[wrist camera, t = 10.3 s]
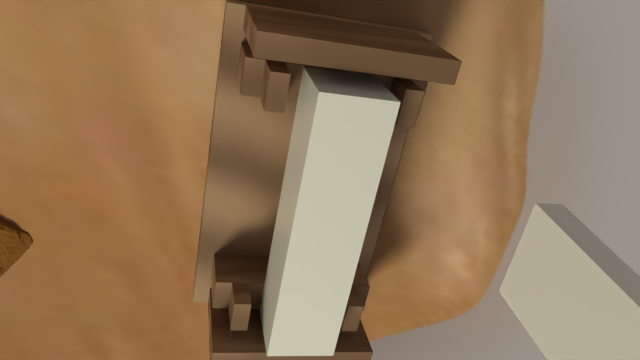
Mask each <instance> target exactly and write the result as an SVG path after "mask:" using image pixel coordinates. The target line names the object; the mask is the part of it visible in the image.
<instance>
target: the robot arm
mask: <svg viewBox="0 0 640 360" xmlns="http://www.w3.org/2000/svg"><path fill="white" fill-rule="evenodd" d="M499 292H500V293H501V295H502V296H503V298H504V299H505V300H506V302H507V303H508V305H509V306H510V307H511V309H512V310H513V312H514V313H515V315H516V316H517V317H518V319H519V320H520V322H521V323H522V324H523V326H524V327H525V329H526V330H527V331H528V333H529V334H530V336H531V337H532V339H533V340H534V341H535V343H536V344H537V346H538V347H539V348H540V350H541V351H542V353H543V354H544V355H545V357H546V358H547V360H640V276H639V275H638V274H636V273H635V272H634V271H633V270H632V269H631V268H630V267H629V266H628V265H627V264H626V263H625V262H624V261H623V260H622V259H620V258H619V257H618V256H617V255H616V254H615V253H614V252H613V251H612V250H611V249H610V248H609V247H608V246H606V245H605V244H604V243H603V242H602V241H601V240H600V239H599V238H598V237H597V236H596V235H595V234H594V233H593V232H591V231H590V230H589V229H588V228H587V227H586V226H585V225H584V224H583V223H582V222H581V221H580V220H579V219H578V218H576V217H575V216H574V215H573V214H572V213H571V212H570V211H569V210H568V209H567V208H566V207H565V206H563V205H560V204H539V203H535V206H534V208H533V211H532V213H531V216H530V218H529V221H528V223H527V225H526V228H525V230H524V233H523V235H522V237H521V240H520V242H519V245H518V247H517V250H516V252H515V254H514V257H513V260H512V262H511V264H510V267H509V269H508V271H507V274H506V276H505V278H504V281H503V283H502V286H501V288H500V291H499Z"/></svg>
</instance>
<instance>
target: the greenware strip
mask: <svg viewBox="0 0 640 360" xmlns="http://www.w3.org/2000/svg"><path fill="white" fill-rule="evenodd" d="M400 103H401V102H400V101H399V100H398V99H397V98H396V97H395V96H394V95H393V94H392V93H391V92H390V90H389V89H388V88H387V87H386V86H385V85H384V84H383V83H382V82H381V81H380V80H379V79H378V78H377V77H374V76H367V75H359V74H352V73H345V72H337V71H330V70H323V69H315V68H308V67H304V68H303V73H302V79H301V85H300V90H299V96H298V101H297V107H296V112H295V118H294V123H293V129H292V134H291V140H290V145H289V151H288V156H287V162H286V167H285V173H284V179H283V184H282V190H281V195H280V201H279V206H278V212H277V217H276V223H275V228H274V234H273V239H272V245H271V250H270V256H269V262H268V267H267V273H266V278H265V284H264V289H263V295H262V300H261V306H260V315H261V322H262V328H263V334H264V341H265V347H266V354H267V356H333V355H334V351H335V347H336V343H337V340H338V336H339V332H340V328H341V325H342V321H343V317H344V313H345V310H346V306H347V302H348V298H349V294H350V291H351V287H352V283H353V279H354V276H355V272H356V268H357V264H358V261H359V257H360V253H361V249H362V246H363V242H364V238H365V234H366V231H367V227H368V223H369V219H370V216H371V212H372V208H373V204H374V201H375V197H376V193H377V189H378V185H379V182H380V178H381V174H382V170H383V167H384V163H385V159H386V155H387V152H388V148H389V144H390V140H391V137H392V133H393V129H394V125H395V122H396V118H397V114H398V110H399V107H400Z"/></svg>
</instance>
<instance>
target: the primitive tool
mask: <svg viewBox="0 0 640 360" xmlns="http://www.w3.org/2000/svg"><path fill="white" fill-rule="evenodd" d="M32 243H33V240H32V238H31V236H30V235H29V234H27V233H25V232H24V231H23V230H20V229H19V228H16V227H15V226H13V225H11V224H9V223H8V222H5V221H4V220H2V219H0V277H1V276H2V275H3V274H4V273H5V272H6V271H7V270H8V269H9V268H10V267H11V266H12V265H13V264H14V263H15V262H16V261H17V260H18V259H19V258H20V257H21V256H22V255H23V254H24V253H25V251H26V250H28V249H29V248H30V246H31V245H32Z"/></svg>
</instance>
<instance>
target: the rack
mask: <svg viewBox="0 0 640 360" xmlns="http://www.w3.org/2000/svg"><path fill="white" fill-rule="evenodd" d="M433 36H434V35H432V34H430V33H429V32H426V31H420V30H414V29H408V28H402V27H396V26H390V25H383V24H377V23H371V22H365V21H359V20H353V19H347V18H341V17H334V16H328V15H322V14H316V13H310V12H304V11H298V10H291V9H285V8H279V7H273V6H267V5H261V4H255V3H248V2H242V1H236V0H226V4H225V13H224V22H223V31H222V40H221V49H220V58H219V67H218V76H217V85H216V94H215V102H214V111H213V120H212V129H211V138H210V147H209V156H208V165H207V174H206V183H205V192H204V201H203V210H202V219H201V228H200V237H199V245H198V254H197V263H196V272H195V281H194V290H193V302H208V314H209V343H210V360H371V357H372V353H373V351H372V348H371V346H370V343H369V341H368V338H367V335H366V333H365V330H364V328H363V325H362V322H361V320H360V318H361V314H362V311H363V309H364V306H365V302H366V299H367V295H368V291H369V288H370V286H369V284H368V281H367V279H366V278H367V274H368V271H369V267H370V264H371V260H372V256H373V253H374V249H375V246H376V242H377V238H378V235H379V231H380V228H381V224H382V220H383V217H384V213H385V209H386V206H387V202H388V199H389V195H390V191H391V188H392V184H393V181H394V177H395V173H396V170H397V166H398V163H399V159H400V155H401V152H402V148H403V145H404V141H405V137H406V134H407V130H408V127H412V128H414V127H415V123H416V119H417V116H418V115H419V111H420V108H421V104H422V101H423V97H424V94H425V90H426V87H427V83H428V82H436V83H443V84H450V85H455V82H456V79H457V75H458V72H459V69H460V66H461V62H462V61H460V60H459V59H457V58H456V57H454V56H453V55H451V54H450V53H448V52H447V51H445V50H443V49H442V48H440V47H439V46H437V45H436V44H434V43H433V42H432V40H433ZM304 67H308V68H315V69H323V70H330V71H337V72H345V73H352V74H359V75H367V76H374V77H377V78H378V79H379V80H380V81H381V82H382V83H383V84H384V85H385V86H386V87H387V88H388V89H389V90H390V92H391V93H392V94H393V95H394V96H395V97H396V98H397V99H398V100H399V101H400V102H401V103H400V107H399V110H398V114H397V118H396V122H395V125H394V129H393V133H392V137H391V140H390V144H389V148H388V152H387V155H386V159H385V163H384V167H383V170H382V174H381V178H380V182H379V185H378V189H377V193H376V197H375V201H374V204H373V208H372V212H371V216H370V219H369V223H368V227H367V231H366V234H365V238H364V242H363V246H362V249H361V253H360V257H359V261H358V264H357V268H356V272H355V276H354V279H353V283H352V287H351V291H350V294H349V298H348V302H347V306H346V310H345V313H344V317H343V321H342V325H341V328H340V332H339V336H338V340H337V343H336V347H335V351H334V355H333V356H267V354H266V347H265V341H264V334H263V328H262V322H261V315H260V306H261V300H262V295H263V289H264V284H265V278H266V273H267V267H268V262H269V256H270V250H271V245H272V239H273V234H274V228H275V223H276V217H277V212H278V206H279V201H280V195H281V190H282V184H283V179H284V173H285V167H286V162H287V156H288V151H289V145H290V140H291V134H292V129H293V123H294V118H295V112H296V107H297V101H298V96H299V90H300V85H301V79H302V73H303V68H304ZM427 81H428V82H427Z"/></svg>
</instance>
